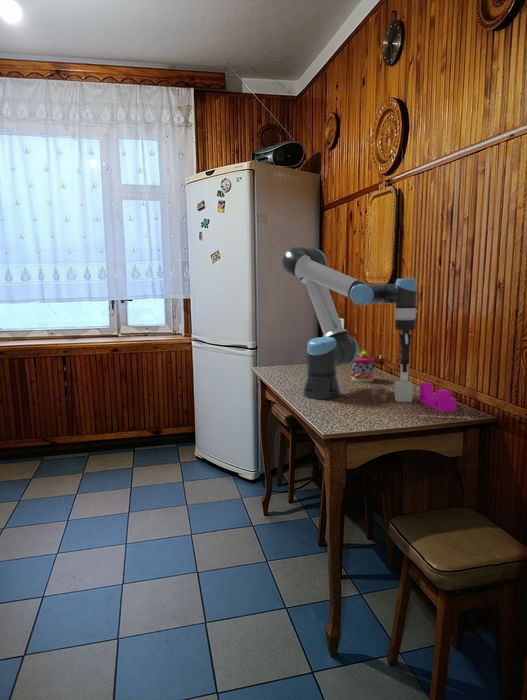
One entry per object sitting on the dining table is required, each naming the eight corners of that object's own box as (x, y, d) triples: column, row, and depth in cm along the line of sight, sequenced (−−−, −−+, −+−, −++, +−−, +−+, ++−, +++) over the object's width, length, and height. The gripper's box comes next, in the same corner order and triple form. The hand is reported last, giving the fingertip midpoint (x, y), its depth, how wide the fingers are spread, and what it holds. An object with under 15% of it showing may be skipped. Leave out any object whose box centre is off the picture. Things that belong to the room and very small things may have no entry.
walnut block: (373, 401, 181) (373, 388, 180) (370, 398, 186) (370, 386, 185) (386, 401, 181) (386, 388, 180) (383, 398, 186) (383, 386, 185)
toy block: (456, 411, 166) (456, 390, 165) (439, 412, 165) (440, 391, 164) (434, 401, 181) (435, 382, 180) (419, 401, 180) (420, 382, 179)
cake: (378, 382, 216) (379, 350, 214) (360, 384, 211) (360, 351, 209) (364, 378, 225) (365, 347, 223) (346, 380, 221) (346, 348, 219)
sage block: (395, 401, 180) (396, 383, 179) (394, 398, 186) (395, 380, 185) (412, 402, 179) (412, 384, 178) (410, 398, 185) (410, 381, 184)
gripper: (418, 320, 171) (416, 383, 174) (413, 317, 184) (412, 376, 187) (396, 320, 172) (395, 383, 176) (393, 318, 185) (392, 376, 188)
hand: (404, 379), depth 181 cm, fingers closed
